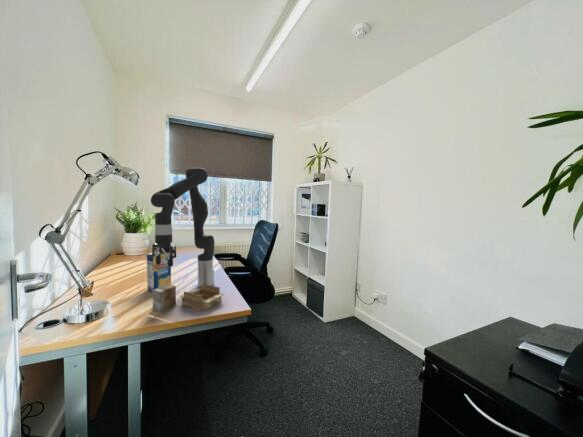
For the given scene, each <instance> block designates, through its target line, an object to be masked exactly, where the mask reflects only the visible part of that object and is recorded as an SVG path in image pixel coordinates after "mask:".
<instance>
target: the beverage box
mask: <svg viewBox="0 0 583 437" xmlns="http://www.w3.org/2000/svg"><path fill="white" fill-rule="evenodd" d="M169 253H170V252H169ZM169 256H170V255H169ZM160 257H161V264H159V265H156V257H155V256H153V255H152V252H151V253H147V254H146V272H147V273H146V274H147V275H146V277H147V278H146V279H147V281H146V282H147V283H146V284H147V290H148V291H150V292H153V290H155V289H158V288H160V287H163V286H166V285H172V266H171V267H168V258H167V256H165V254H161V256H160Z"/></svg>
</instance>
